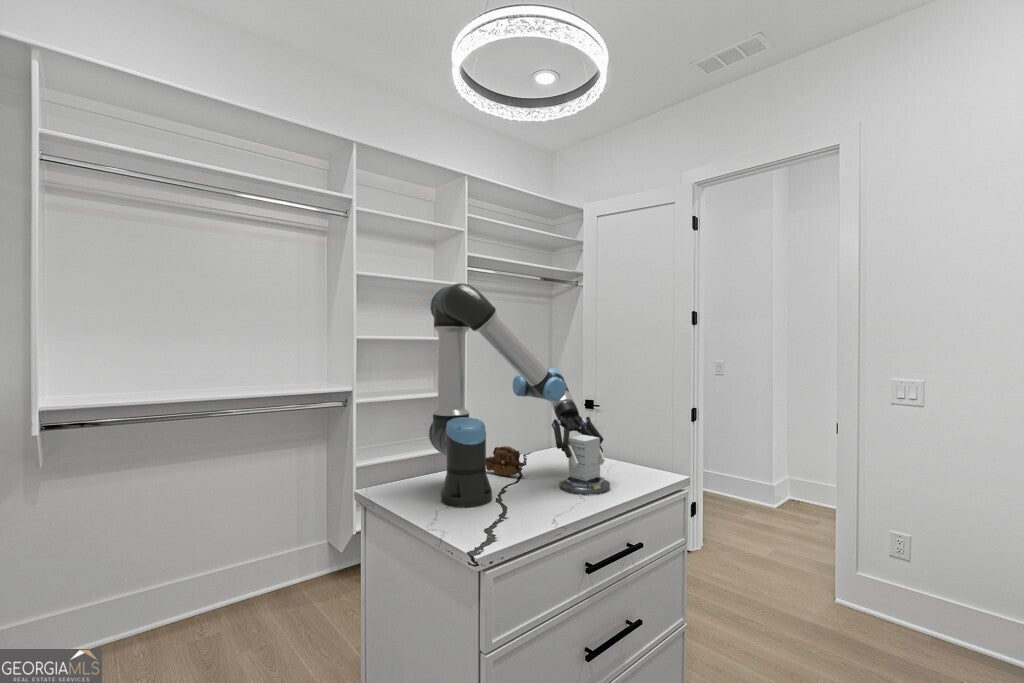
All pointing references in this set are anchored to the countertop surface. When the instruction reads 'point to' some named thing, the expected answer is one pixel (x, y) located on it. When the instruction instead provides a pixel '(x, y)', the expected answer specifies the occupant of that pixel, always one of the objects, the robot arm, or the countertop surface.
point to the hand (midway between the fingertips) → (589, 463)
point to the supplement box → (585, 457)
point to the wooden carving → (504, 461)
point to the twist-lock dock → (584, 485)
